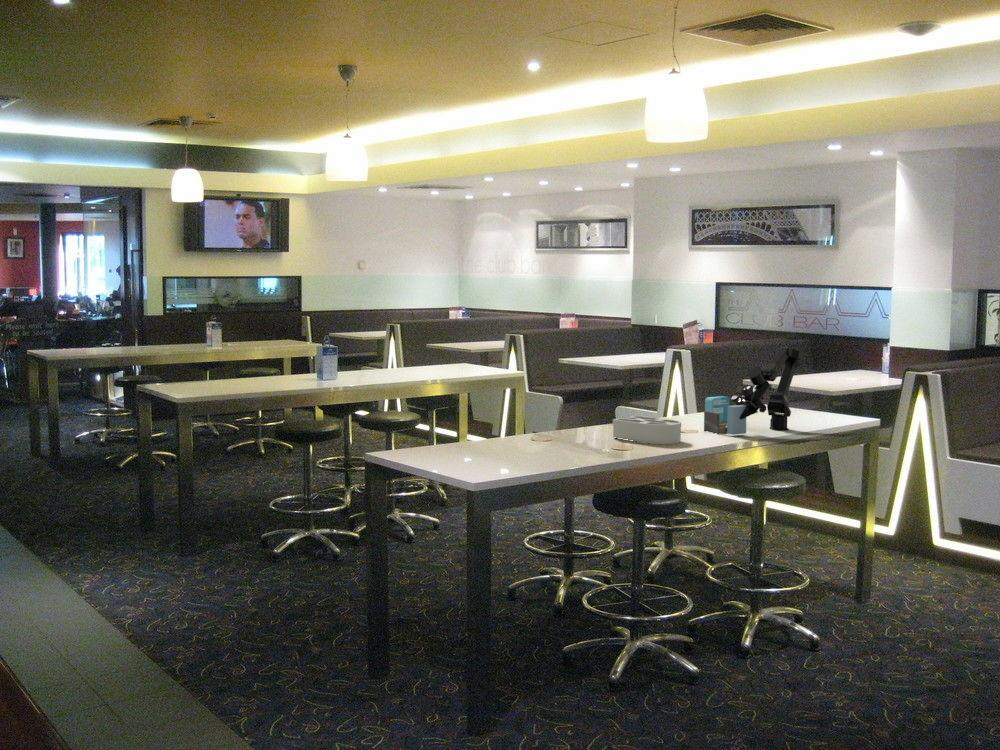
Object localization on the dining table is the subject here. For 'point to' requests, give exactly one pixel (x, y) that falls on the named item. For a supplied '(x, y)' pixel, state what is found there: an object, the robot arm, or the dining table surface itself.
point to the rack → (713, 423)
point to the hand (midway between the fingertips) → (737, 418)
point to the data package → (718, 406)
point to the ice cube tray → (648, 430)
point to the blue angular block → (736, 420)
